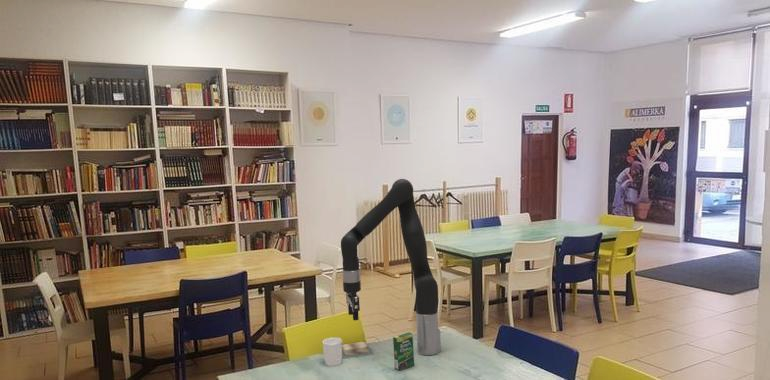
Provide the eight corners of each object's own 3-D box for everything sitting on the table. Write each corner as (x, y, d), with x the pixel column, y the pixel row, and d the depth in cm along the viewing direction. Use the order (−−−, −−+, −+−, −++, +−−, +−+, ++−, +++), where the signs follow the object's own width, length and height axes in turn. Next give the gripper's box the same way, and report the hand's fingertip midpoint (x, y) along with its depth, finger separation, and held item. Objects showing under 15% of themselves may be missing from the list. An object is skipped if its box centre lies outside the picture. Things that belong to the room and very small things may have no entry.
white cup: (339, 369, 194) (338, 344, 194) (321, 368, 196) (319, 344, 196) (345, 361, 202) (344, 337, 202) (327, 360, 204) (326, 337, 203)
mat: (367, 346, 218) (367, 344, 218) (374, 356, 206) (374, 353, 206) (336, 351, 214) (336, 349, 214) (342, 361, 202) (341, 359, 202)
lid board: (364, 347, 214) (364, 341, 214) (368, 352, 208) (367, 346, 208) (342, 350, 212) (341, 344, 211) (345, 355, 205) (345, 350, 205)
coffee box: (398, 371, 190) (396, 338, 190) (394, 368, 193) (392, 336, 192) (414, 366, 194) (413, 333, 194) (410, 363, 197) (409, 331, 196)
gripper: (364, 282, 202) (366, 320, 203) (356, 275, 216) (357, 311, 217) (346, 284, 200) (348, 323, 201) (339, 277, 214) (341, 313, 215)
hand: (353, 317), depth 209 cm, fingers open, 8 cm apart
